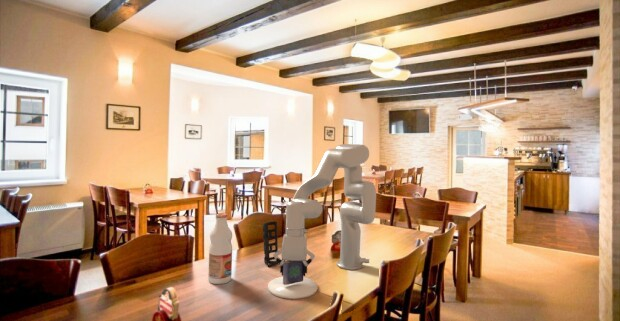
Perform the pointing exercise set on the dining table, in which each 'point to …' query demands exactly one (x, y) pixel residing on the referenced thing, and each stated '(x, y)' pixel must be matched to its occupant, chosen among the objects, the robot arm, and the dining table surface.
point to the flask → (292, 272)
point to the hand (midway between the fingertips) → (293, 274)
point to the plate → (292, 288)
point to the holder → (266, 243)
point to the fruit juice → (220, 251)
